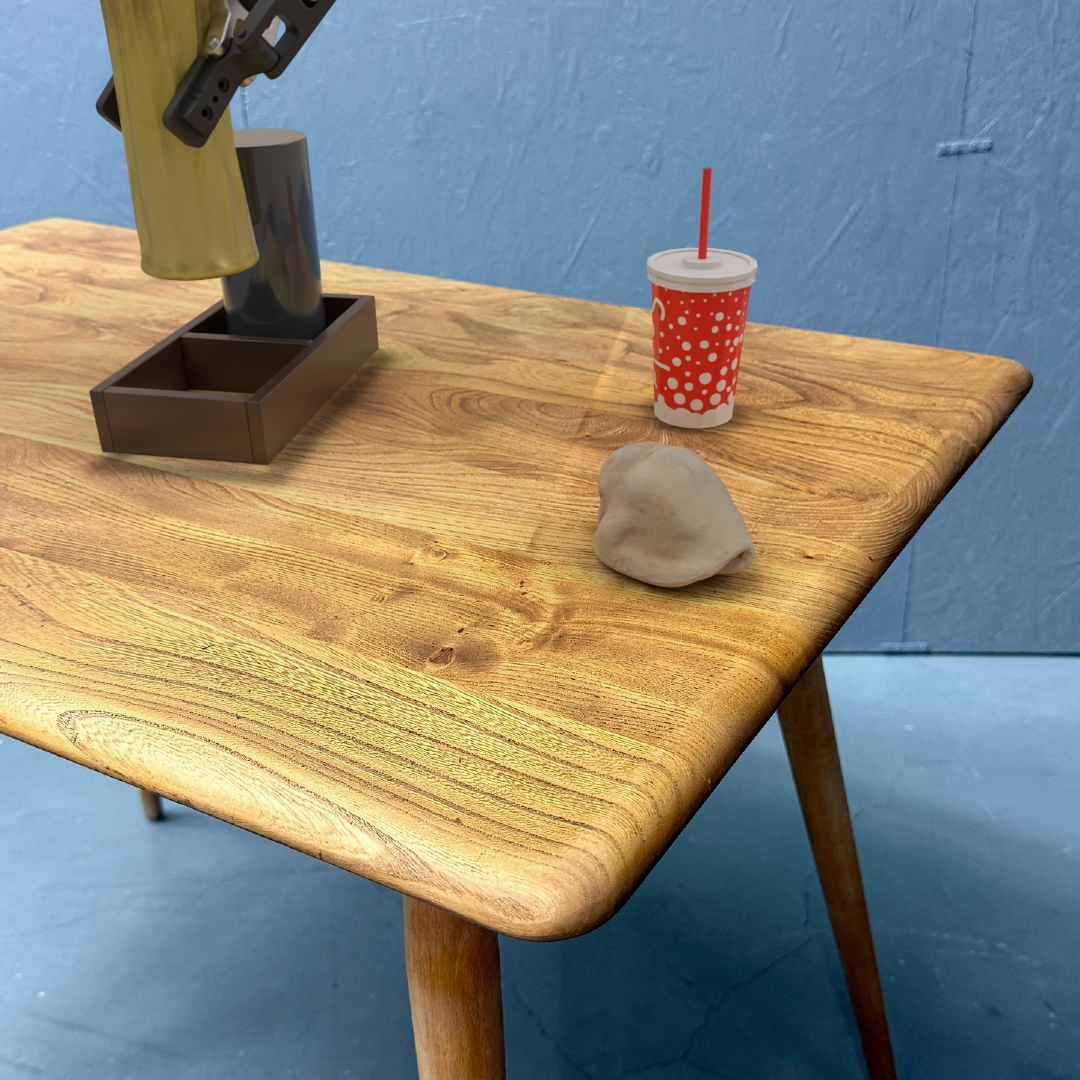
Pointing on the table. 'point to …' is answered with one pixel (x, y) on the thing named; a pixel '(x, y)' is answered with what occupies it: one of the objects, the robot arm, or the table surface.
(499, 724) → the table surface
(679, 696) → the table surface
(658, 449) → the stone
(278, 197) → the dark grey cylinder
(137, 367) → the rack
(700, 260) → the beverage cup
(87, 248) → the table surface
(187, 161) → the vase
